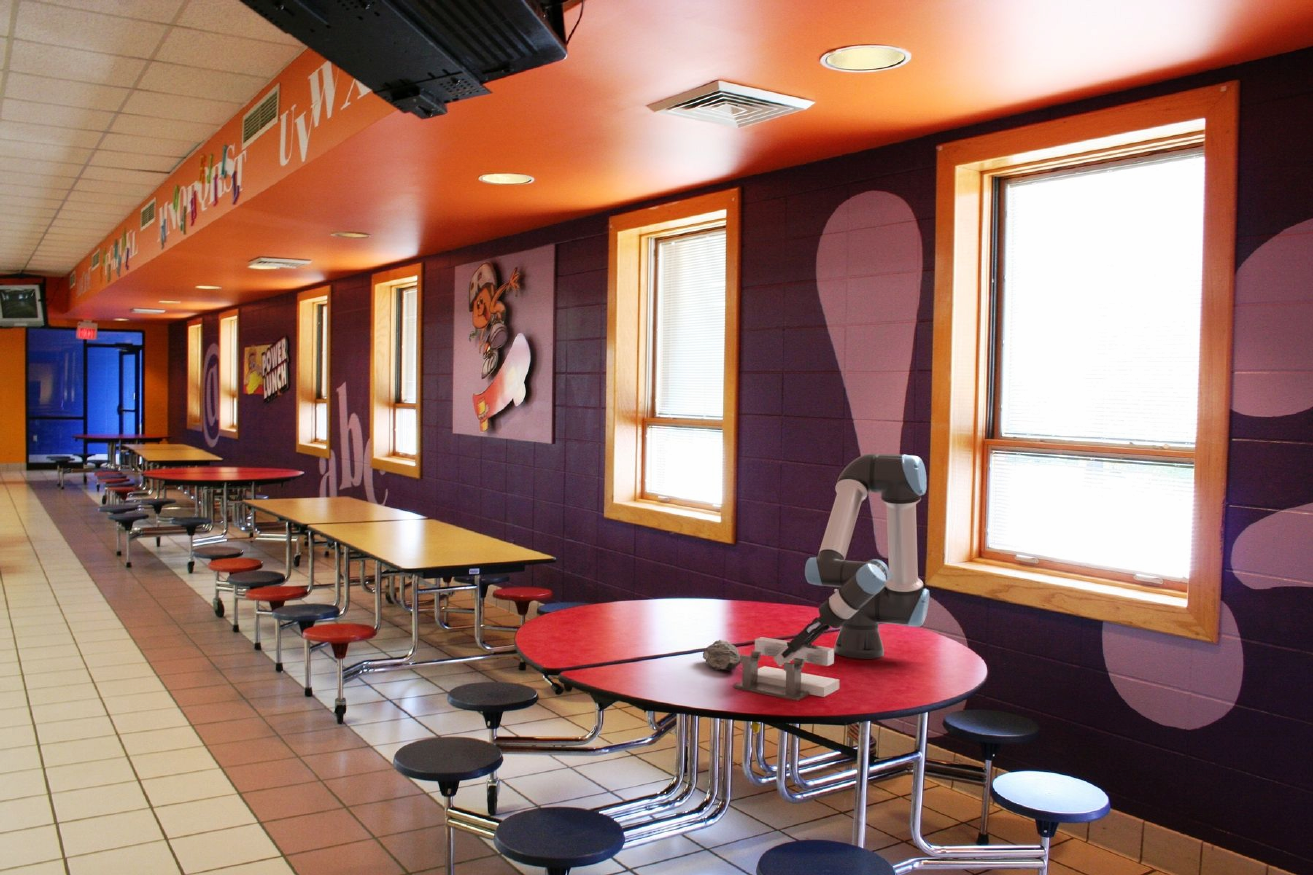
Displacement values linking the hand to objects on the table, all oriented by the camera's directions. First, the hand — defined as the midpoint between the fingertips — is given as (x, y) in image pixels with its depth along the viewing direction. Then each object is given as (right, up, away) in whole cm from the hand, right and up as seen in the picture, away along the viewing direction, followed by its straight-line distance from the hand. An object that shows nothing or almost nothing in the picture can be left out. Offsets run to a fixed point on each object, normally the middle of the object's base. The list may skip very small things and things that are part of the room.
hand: (780, 660), depth 267 cm
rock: (-14, -6, +16) cm, 22 cm away
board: (+3, -6, -2) cm, 7 cm away
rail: (+3, +1, -2) cm, 4 cm away
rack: (-4, -6, -8) cm, 11 cm away
